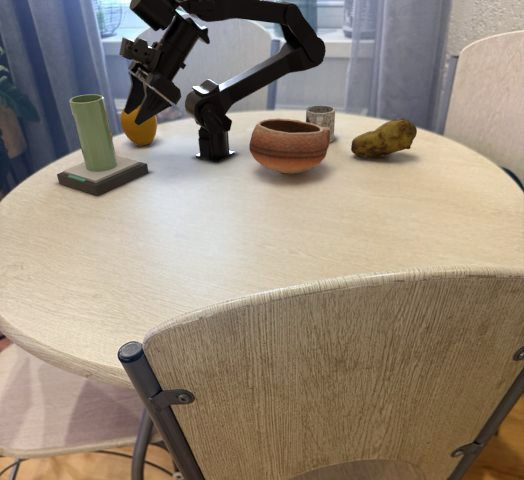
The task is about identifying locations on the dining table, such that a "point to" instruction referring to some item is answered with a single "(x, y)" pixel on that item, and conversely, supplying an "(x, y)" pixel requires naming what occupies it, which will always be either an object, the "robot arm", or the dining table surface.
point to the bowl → (289, 144)
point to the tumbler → (93, 132)
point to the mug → (322, 117)
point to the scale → (102, 176)
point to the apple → (138, 128)
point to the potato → (385, 139)
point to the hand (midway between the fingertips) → (130, 118)
